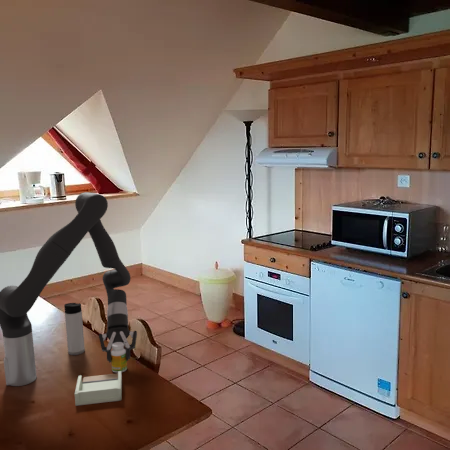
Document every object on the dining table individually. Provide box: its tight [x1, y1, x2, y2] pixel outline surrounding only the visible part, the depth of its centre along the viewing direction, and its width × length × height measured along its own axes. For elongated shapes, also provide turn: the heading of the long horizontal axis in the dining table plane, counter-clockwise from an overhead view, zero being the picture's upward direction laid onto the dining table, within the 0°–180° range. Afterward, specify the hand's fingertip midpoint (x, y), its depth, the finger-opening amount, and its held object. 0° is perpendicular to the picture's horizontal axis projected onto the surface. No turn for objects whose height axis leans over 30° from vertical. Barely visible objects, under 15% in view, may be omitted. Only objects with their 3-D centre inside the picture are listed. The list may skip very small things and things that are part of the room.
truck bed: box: [74, 371, 123, 406], centre depth 159 cm, size 14×17×4 cm
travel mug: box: [64, 302, 86, 356], centre depth 187 cm, size 6×7×20 cm
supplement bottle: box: [110, 342, 128, 374], centre depth 172 cm, size 5×5×10 cm
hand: (118, 360), depth 171 cm, fingers closed on supplement bottle, 5 cm apart
